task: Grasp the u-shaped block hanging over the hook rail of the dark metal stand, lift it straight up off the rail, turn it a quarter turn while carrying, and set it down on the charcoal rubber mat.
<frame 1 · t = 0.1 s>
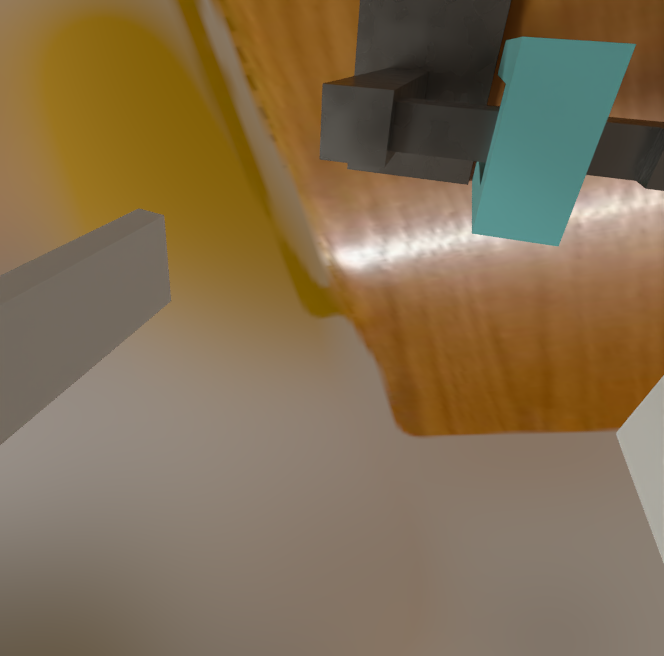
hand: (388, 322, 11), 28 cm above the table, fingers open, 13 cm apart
stand: (406, 91, 33), on the table
u-shaped block: (520, 119, 23), point 10 cm above the table, touching stand
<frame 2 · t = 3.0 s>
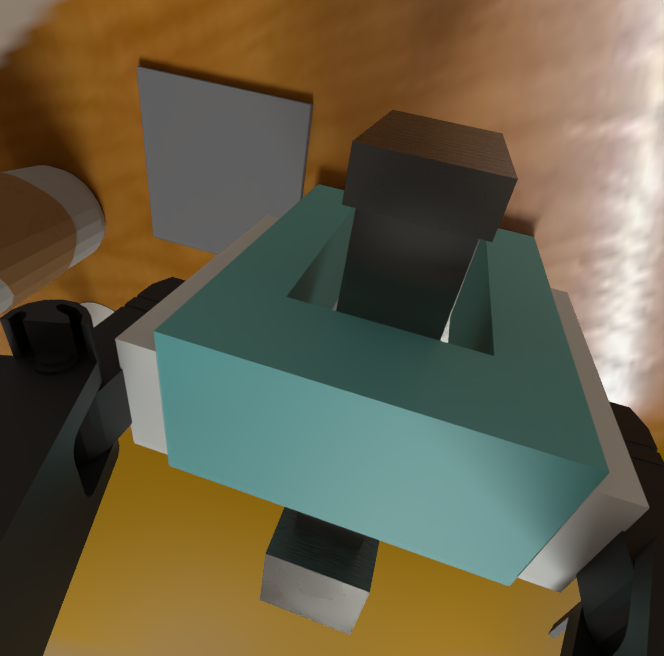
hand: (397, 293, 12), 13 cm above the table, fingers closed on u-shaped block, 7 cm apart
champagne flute: (107, 335, 37), on the table
coffee cup: (70, 209, 30), on the table
stand: (397, 301, 27), on the table
mat: (224, 178, 26), on the table
u-shaped block: (408, 258, 15), point 10 cm above the table, touching gripper, stand
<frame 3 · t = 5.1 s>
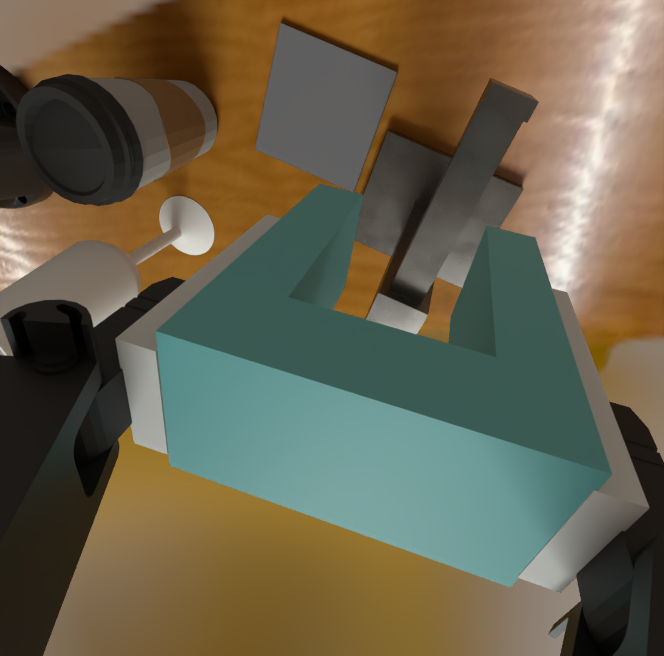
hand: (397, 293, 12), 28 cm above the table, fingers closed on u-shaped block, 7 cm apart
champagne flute: (187, 225, 47), on the table
coffee cup: (190, 118, 40), on the table
stand: (424, 221, 39), on the table
mat: (321, 113, 36), on the table
u-shaped block: (409, 258, 15), point 25 cm above the table, touching gripper
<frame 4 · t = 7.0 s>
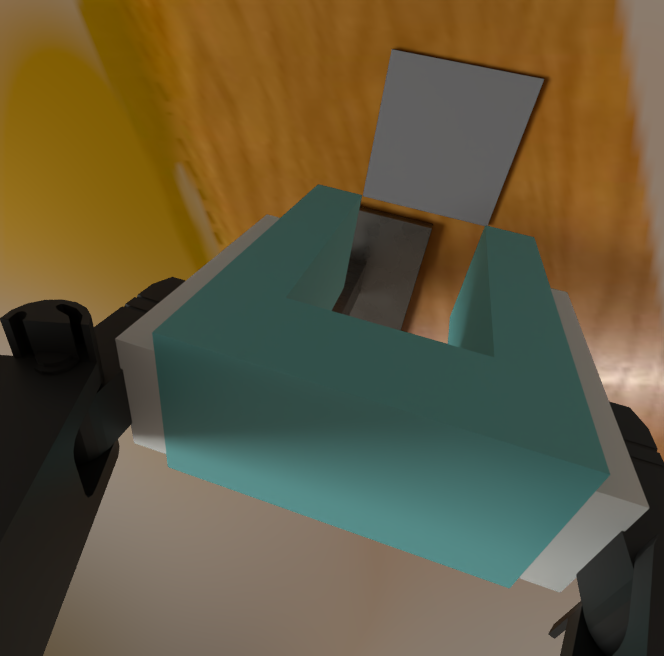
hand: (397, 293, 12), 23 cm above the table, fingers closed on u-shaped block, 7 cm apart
stand: (348, 270, 39), on the table
mat: (443, 143, 31), on the table
u-shaped block: (408, 259, 15), point 21 cm above the table, touching gripper
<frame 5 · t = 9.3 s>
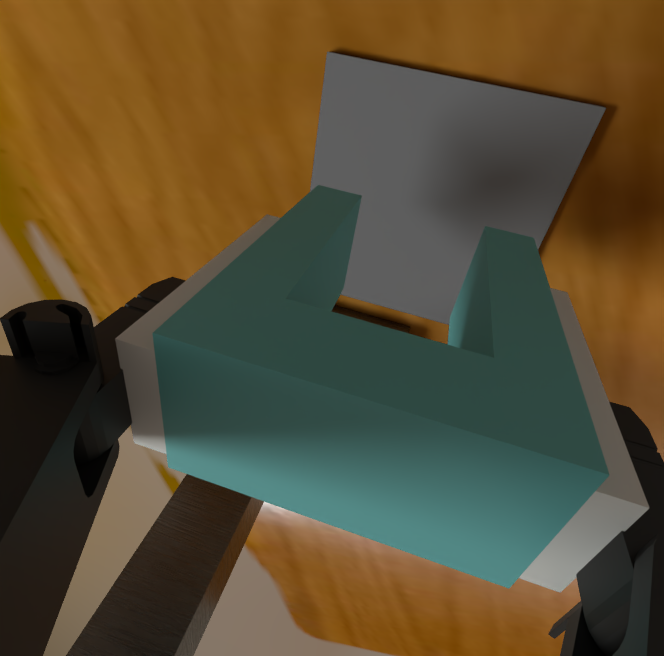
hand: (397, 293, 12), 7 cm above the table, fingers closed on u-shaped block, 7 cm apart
stand: (289, 377, 26), on the table
mat: (422, 209, 18), on the table
u-shaped block: (408, 259, 15), point 5 cm above the table, touching gripper
when the fingers open (5 cm above the table, at t = 11.0 s): u-shaped block drops 2 cm, resting on mat.
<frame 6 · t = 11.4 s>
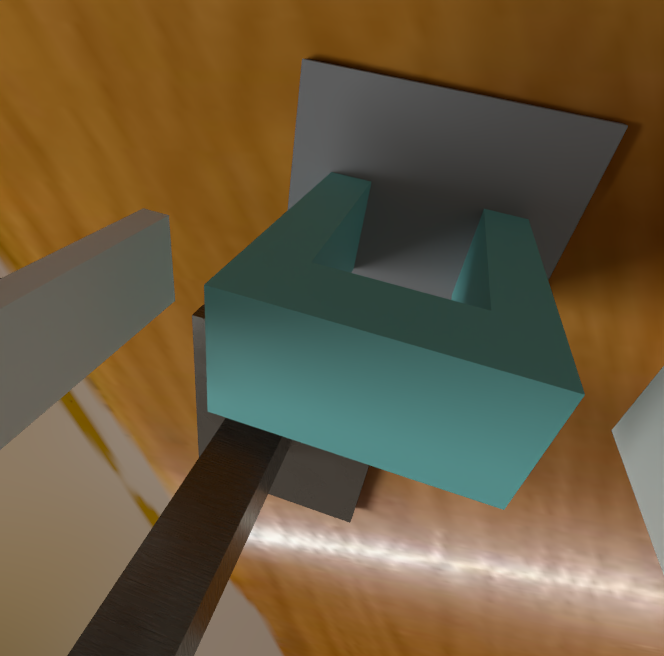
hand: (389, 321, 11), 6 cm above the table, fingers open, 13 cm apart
stand: (270, 413, 24), on the table
mat: (414, 237, 16), on the table
u-shaped block: (413, 241, 16), resting on mat
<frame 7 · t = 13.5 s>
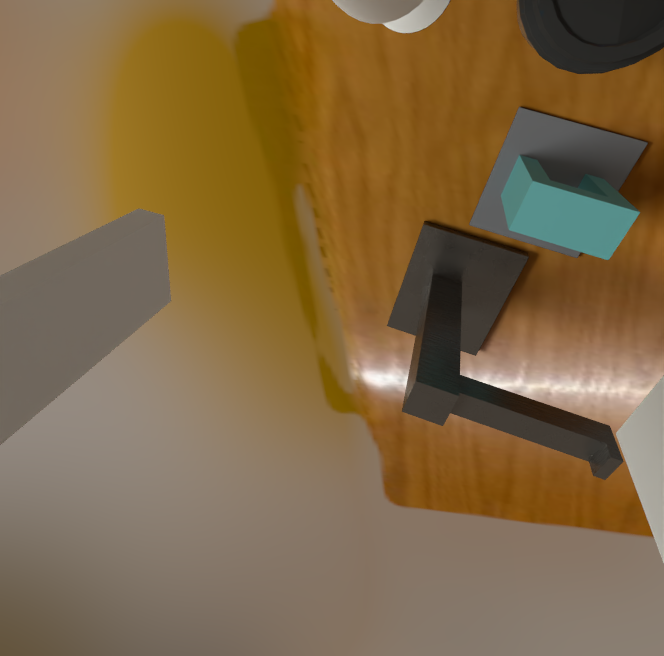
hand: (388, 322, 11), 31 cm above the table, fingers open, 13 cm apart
stand: (442, 287, 44), on the table
mat: (549, 186, 36), on the table
u-shaped block: (550, 187, 36), resting on mat
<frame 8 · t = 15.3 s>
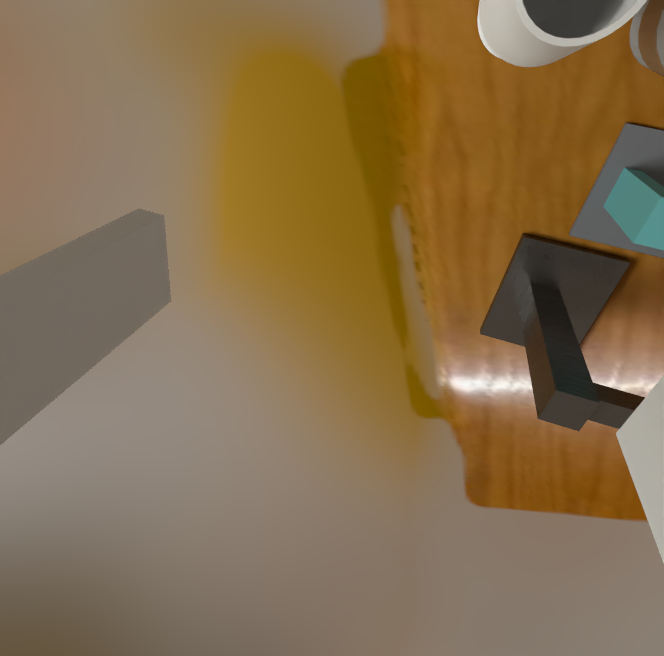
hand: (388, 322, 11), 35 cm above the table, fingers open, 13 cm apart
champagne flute: (521, 10, 34), on the table
stand: (537, 294, 45), on the table
mat: (653, 195, 38), on the table
u-shaped block: (654, 196, 37), resting on mat
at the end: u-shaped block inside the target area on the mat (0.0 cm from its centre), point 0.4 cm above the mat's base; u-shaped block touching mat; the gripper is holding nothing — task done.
